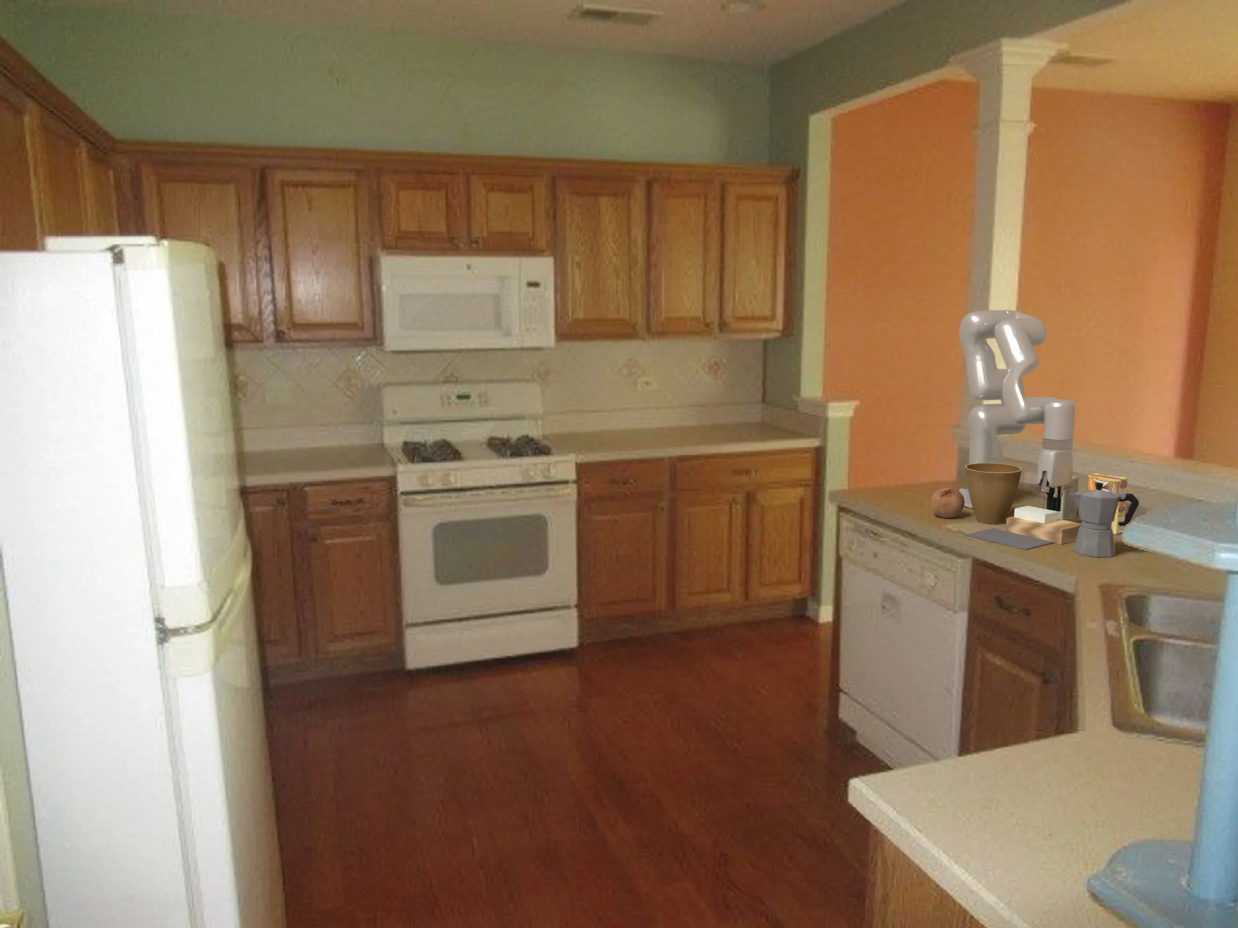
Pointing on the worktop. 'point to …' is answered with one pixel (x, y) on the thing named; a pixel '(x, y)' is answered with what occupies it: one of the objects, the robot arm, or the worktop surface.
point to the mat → (1009, 539)
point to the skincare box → (1069, 501)
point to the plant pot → (992, 490)
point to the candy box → (1113, 486)
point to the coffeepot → (1099, 520)
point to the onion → (947, 502)
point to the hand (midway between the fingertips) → (1053, 510)
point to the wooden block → (1045, 529)
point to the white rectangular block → (1036, 514)
